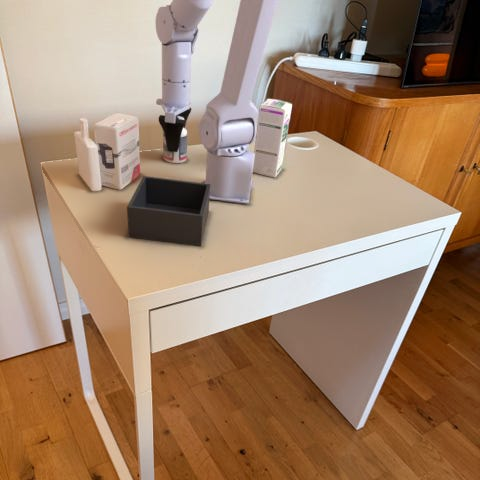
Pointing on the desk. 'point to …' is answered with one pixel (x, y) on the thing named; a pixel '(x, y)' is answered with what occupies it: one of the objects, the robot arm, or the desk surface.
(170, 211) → the dark grey open box
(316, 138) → the desk surface
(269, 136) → the syrup box
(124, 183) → the ink box
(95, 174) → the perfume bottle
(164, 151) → the pill bottle
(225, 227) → the desk surface
